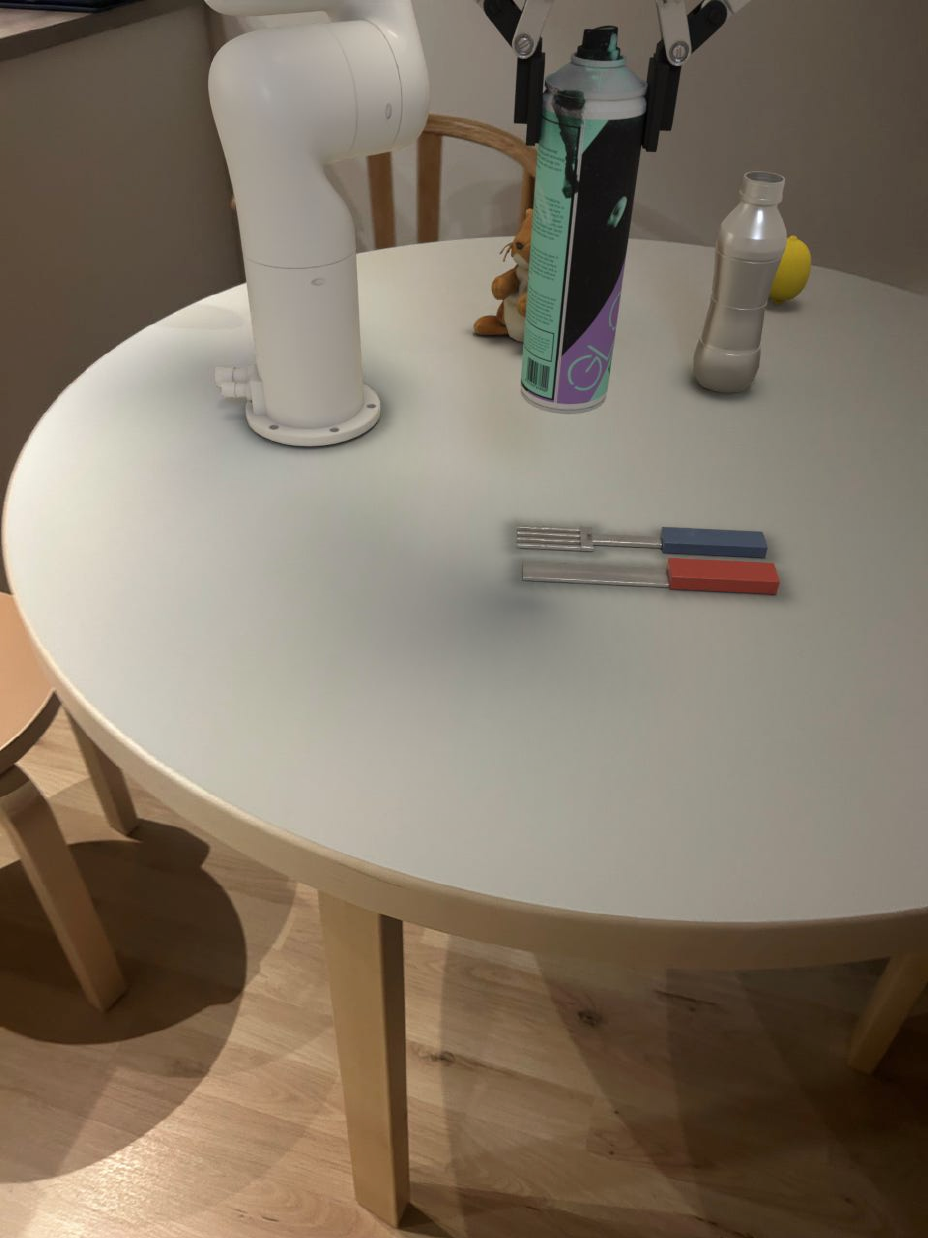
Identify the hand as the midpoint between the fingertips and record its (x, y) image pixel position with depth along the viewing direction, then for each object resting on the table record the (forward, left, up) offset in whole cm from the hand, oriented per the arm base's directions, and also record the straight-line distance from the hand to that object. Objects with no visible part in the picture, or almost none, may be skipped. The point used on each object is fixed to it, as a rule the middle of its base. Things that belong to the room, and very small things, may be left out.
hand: (590, 138), depth 51 cm
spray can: (0, 0, -15) cm, 15 cm away
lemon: (+28, +58, -31) cm, 71 cm away
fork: (+8, +7, -31) cm, 33 cm away
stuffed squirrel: (0, +47, -31) cm, 56 cm away
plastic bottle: (+18, +36, -31) cm, 51 cm away
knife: (+8, +3, -31) cm, 32 cm away
